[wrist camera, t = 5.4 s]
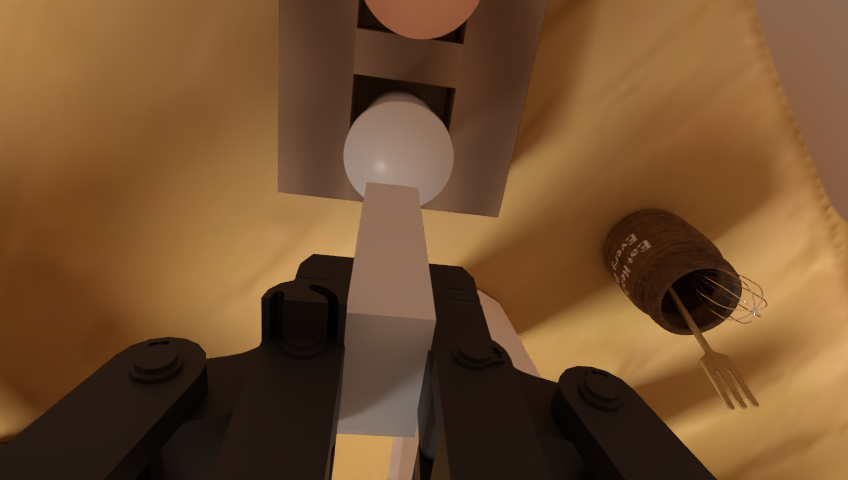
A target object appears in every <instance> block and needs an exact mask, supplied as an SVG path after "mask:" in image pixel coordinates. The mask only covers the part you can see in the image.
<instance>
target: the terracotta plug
mask: <svg viewBox="0 0 848 480" xmlns="http://www.w3.org/2000/svg"><path fill="white" fill-rule="evenodd" d="M479 1H480V0H365V2H366V4H367V6H368V7H369V9H370V10H371V12H372V13H373V14H374V16H375V17H376V18H377V19H378V20H379V21H380V22H381V23H382V24H383V25H384V26H386V27H387V28H389V29H390V30H392V31H393V32H395V33H397V34H399V35H402V36H405V37H408V38H413V39H432V38H437V37H440V36H443V35H446V34H448V33H450V32H451V31H453V30H455V29H456V28H458V27H459V26H460V25H461V24H463V23H464V22H465V21H466V20H467V19H468V18H469V16H470V15H471V14H472V13H473V11H474V10H475V8H476V7H477V5H478V3H479Z"/></svg>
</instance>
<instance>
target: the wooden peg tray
mask: <svg viewBox="0 0 848 480" xmlns="http://www.w3.org/2000/svg"><path fill="white" fill-rule="evenodd" d="M547 2H548V0H480V1H479V3H478V5H477V7H476V8H475V10H474V11H473V13H472V14H471V15H470V16H469V18H468V19H467V20H466V21H465V22H464V23H463V24H461V25H460V26H459V27H458V28H456V29H455V30H453V31H451V32H450V33H448V34H446V35H443V36H440V37H437V38H432V39H413V38H408V37H405V36H402V35H399V34H397V33H395V32H393V31H392V30H390V29H389V28H387V27H386V26H384V25H383V24H382V23H381V22H380V21H379V20H378V19H377V18H376V17H375V16H374V14H373V13H372V12H371V10H370V9H369V7H368V6H367V4H366V2H365V0H279V117H278V192H282V193H290V194H299V195H308V196H316V197H325V198H334V199H342V200H351V201H360V202H363V200H364V197H363V196H361V195H360V194H359V193H358V192H357V191H356V189H355V188H354V187H353V185H352V184H351V182H350V180H349V178H348V176H347V173H346V170H345V166H344V145H345V142H346V138H347V136H348V133H349V131H350V129H351V127H352V125H353V123H354V122H355V120H356V119H357V118H358V117H359V115H361V114H362V113H363V112H364V111H365V110H366V109H367V108H368V107H369V105H370V103H371V102H372V101H373V100H374V99H375V98H376V97H377V96H379V95H380V94H382V93H384V92H387V91H389V90H395V89H403V90H408V91H411V92H414V93H416V94H418V95H419V96H420V97H422V98H423V99H424V100H425V101H426V102H427V103H428V105H429V106H430V108H431V110H432V111H433V112H434V113H435V114H436V115H437V116H438V117H439V118H440V120H441V121H442V122H443V124H444V125H445V127H446V129H447V131H448V133H449V136H450V139H451V142H452V145H453V152H454V161H453V168H452V172H451V175H450V177H449V180H448V181H447V183H446V185H445V186H444V188H443V189H442V191H441V192H440V193H439V194H438V195H437V196H435V197H434V198H433V199H432V200H430V201H429V202H427V203H425V204H423V205H421V209H429V210H438V211H447V212H455V213H464V214H473V215H481V216H490V217H498V216H499V212H500V208H501V203H502V199H503V194H504V190H505V186H506V181H507V177H508V173H509V168H510V164H511V159H512V155H513V151H514V146H515V142H516V138H517V133H518V129H519V124H520V120H521V116H522V111H523V107H524V103H525V98H526V94H527V89H528V85H529V81H530V76H531V72H532V68H533V63H534V59H535V54H536V50H537V46H538V41H539V37H540V33H541V28H542V24H543V19H544V15H545V11H546V6H547Z"/></svg>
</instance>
